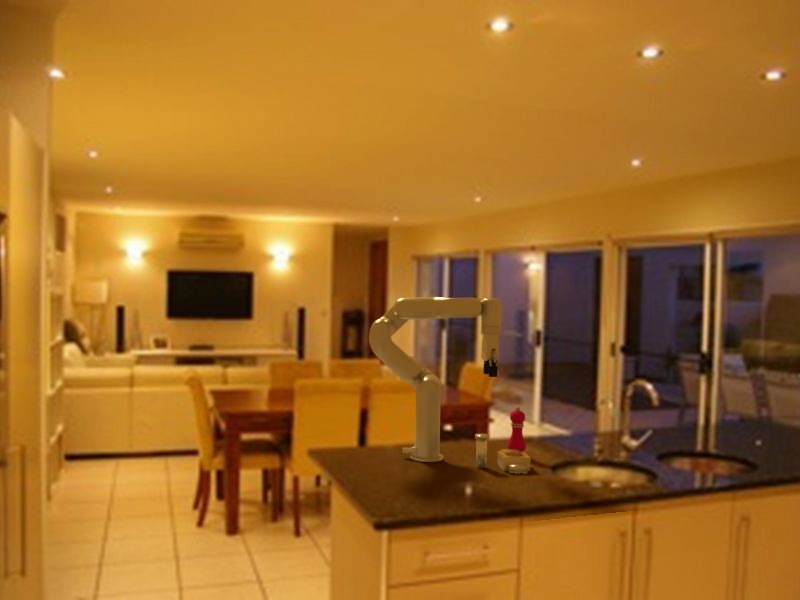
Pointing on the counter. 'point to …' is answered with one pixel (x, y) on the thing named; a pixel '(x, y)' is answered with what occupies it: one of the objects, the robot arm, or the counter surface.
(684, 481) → the counter surface
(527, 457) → the beige stand
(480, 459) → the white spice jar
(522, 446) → the pepper mill
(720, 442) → the counter surface
